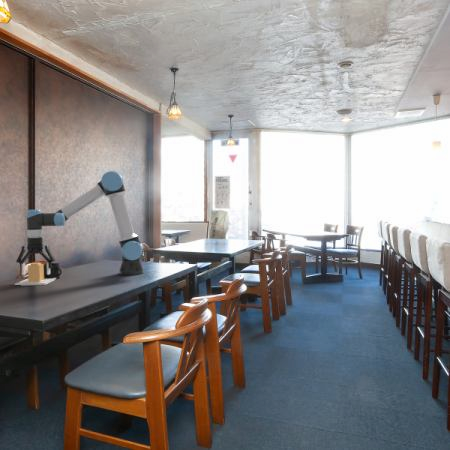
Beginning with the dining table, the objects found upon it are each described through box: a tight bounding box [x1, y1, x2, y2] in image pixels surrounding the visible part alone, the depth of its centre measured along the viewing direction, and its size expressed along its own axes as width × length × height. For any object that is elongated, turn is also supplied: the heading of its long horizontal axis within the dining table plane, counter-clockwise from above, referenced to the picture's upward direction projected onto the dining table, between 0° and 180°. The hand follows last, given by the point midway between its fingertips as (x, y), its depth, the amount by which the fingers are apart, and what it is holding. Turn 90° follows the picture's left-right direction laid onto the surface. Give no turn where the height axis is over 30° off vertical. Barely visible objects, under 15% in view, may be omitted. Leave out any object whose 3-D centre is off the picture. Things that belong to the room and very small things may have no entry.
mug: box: [42, 262, 63, 280], centre depth 221 cm, size 9×12×9 cm
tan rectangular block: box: [27, 262, 44, 282], centre depth 210 cm, size 6×6×10 cm
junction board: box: [14, 278, 57, 286], centre depth 211 cm, size 16×20×7 cm
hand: (36, 274), depth 210 cm, fingers open, 13 cm apart
